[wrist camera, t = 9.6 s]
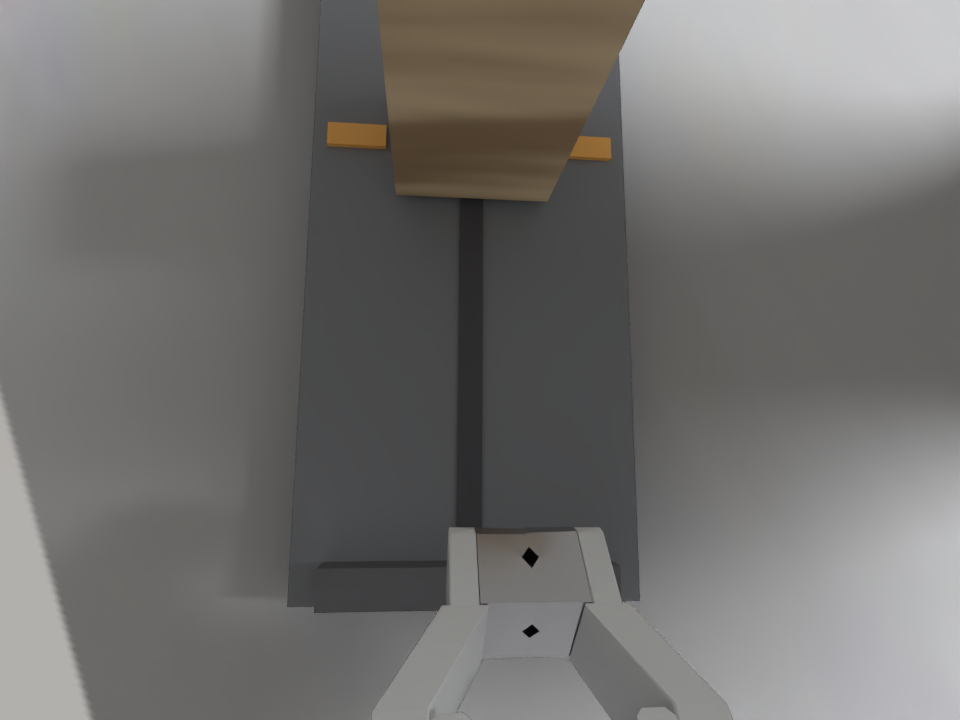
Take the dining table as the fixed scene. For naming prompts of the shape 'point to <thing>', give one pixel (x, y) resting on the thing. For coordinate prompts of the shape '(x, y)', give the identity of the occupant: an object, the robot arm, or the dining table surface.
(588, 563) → the robot arm
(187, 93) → the dining table surface
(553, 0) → the fader knob
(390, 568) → the fader track
